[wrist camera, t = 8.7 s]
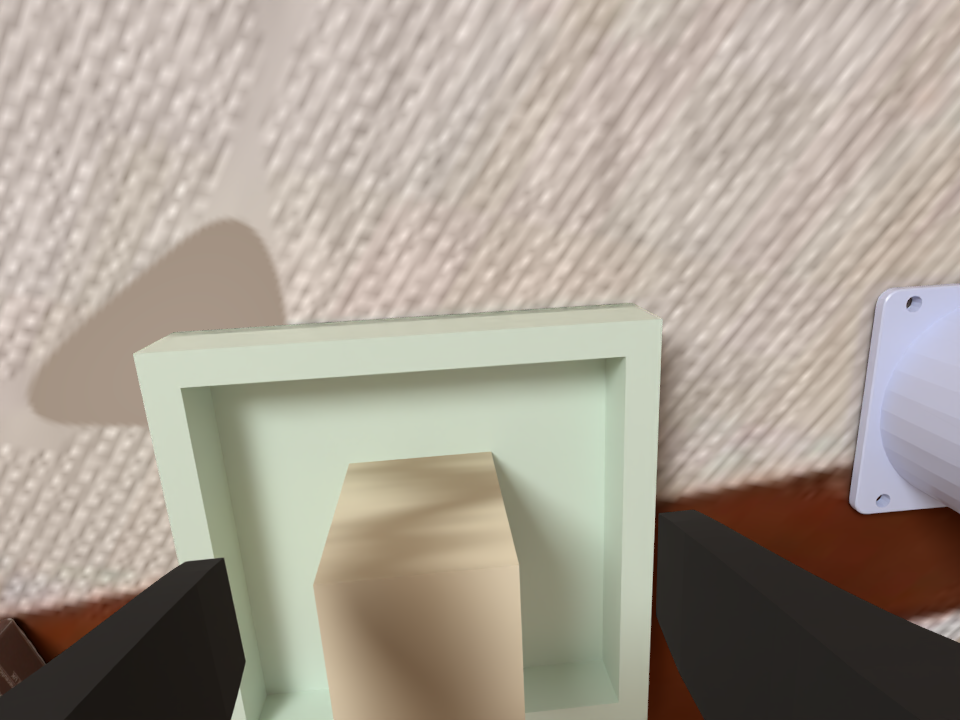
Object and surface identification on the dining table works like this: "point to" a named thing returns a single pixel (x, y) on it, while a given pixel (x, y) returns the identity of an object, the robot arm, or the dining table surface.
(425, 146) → the dining table surface
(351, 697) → the birch block
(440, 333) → the tray
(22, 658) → the box
